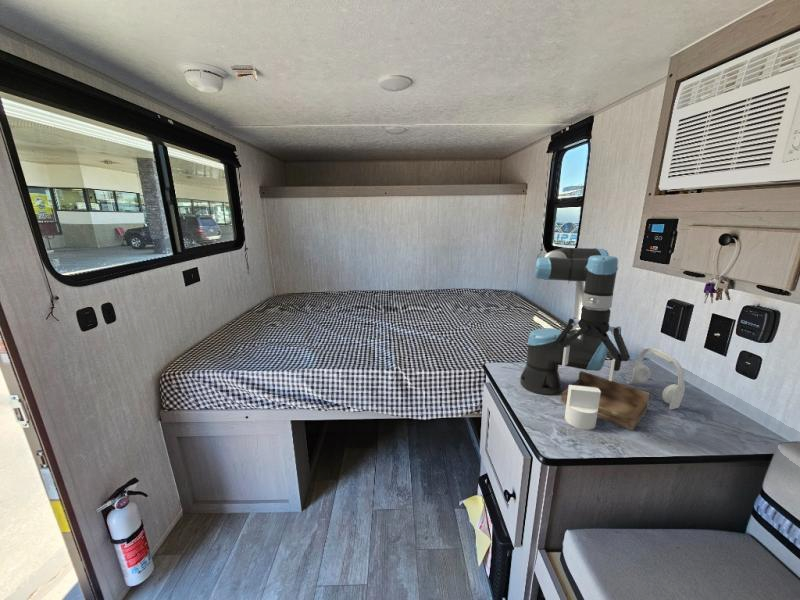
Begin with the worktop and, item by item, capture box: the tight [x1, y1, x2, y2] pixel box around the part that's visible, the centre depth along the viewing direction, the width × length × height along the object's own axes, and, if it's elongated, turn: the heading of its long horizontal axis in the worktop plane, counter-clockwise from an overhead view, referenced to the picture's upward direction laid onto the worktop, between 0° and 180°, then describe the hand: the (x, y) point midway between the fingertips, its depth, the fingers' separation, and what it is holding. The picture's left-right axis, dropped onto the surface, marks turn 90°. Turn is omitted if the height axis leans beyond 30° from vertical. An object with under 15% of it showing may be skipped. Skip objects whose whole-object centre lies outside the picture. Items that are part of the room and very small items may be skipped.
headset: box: [626, 347, 686, 411], centre depth 117 cm, size 20×7×18 cm, turn 0°
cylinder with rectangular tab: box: [564, 384, 601, 431], centre depth 103 cm, size 9×9×12 cm
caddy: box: [560, 370, 651, 431], centre depth 112 cm, size 22×16×7 cm
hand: (587, 371), depth 100 cm, fingers open, 13 cm apart
